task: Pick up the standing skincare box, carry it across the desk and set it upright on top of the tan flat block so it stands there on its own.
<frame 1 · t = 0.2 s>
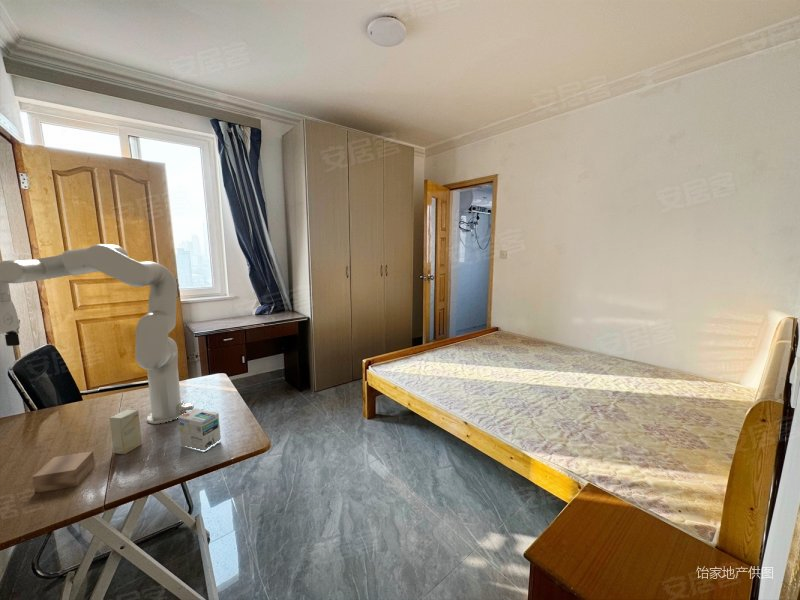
hand: (2, 349, 111), 31 cm above the table, tool pointing down, fingers open, 9 cm apart
light bulb box: (201, 445, 111), on the table
tan flat block: (66, 479, 94), on the table
skincare box: (128, 449, 109), on the table
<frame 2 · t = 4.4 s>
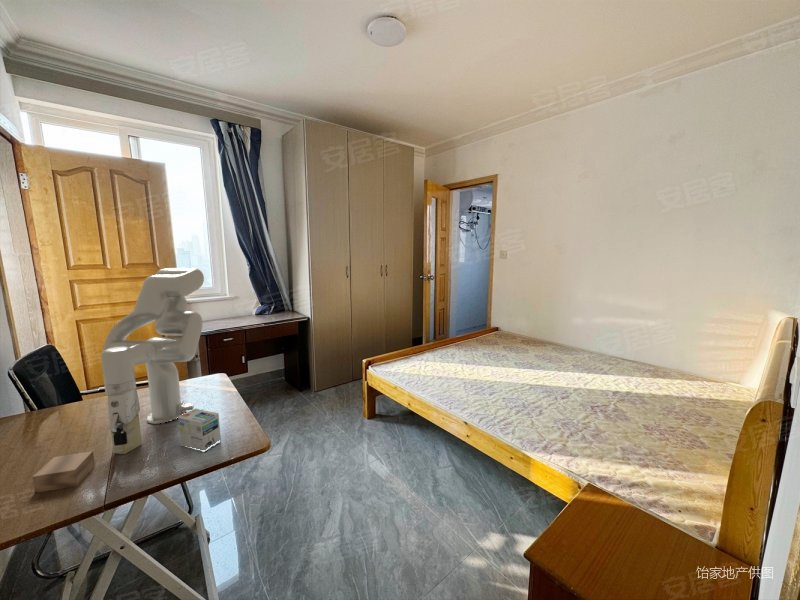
hand: (126, 437, 108), 4 cm above the table, tool pointing down, fingers closed on skincare box, 7 cm apart
skincare box: (128, 449, 109), on the table, touching gripper
everything else where it was.
when the fingers open (10 cm above the table, at t = 12.1 s): skincare box drops 1 cm, point 4 cm above the table.
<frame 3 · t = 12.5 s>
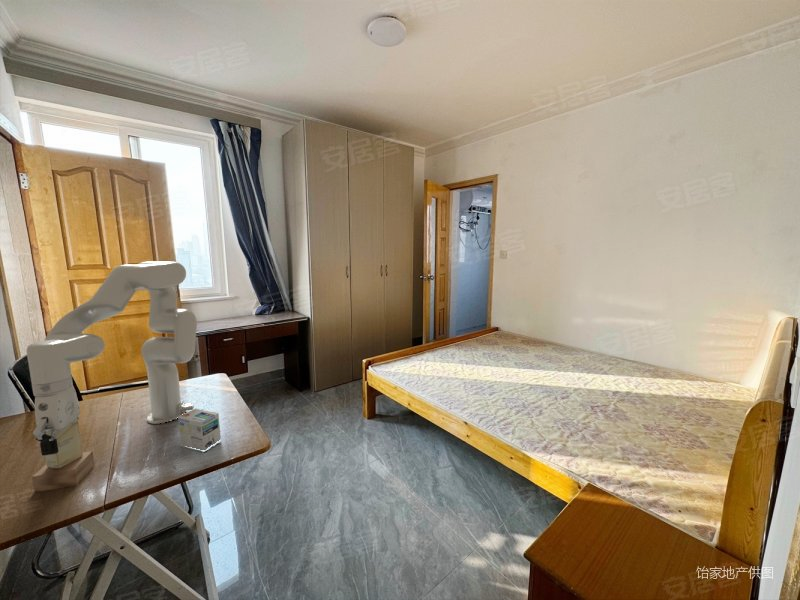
hand: (62, 444, 93), 10 cm above the table, tool pointing down, fingers open, 9 cm apart
skincare box: (65, 461, 95), point 4 cm above the table, touching gripper
everything else where it was.
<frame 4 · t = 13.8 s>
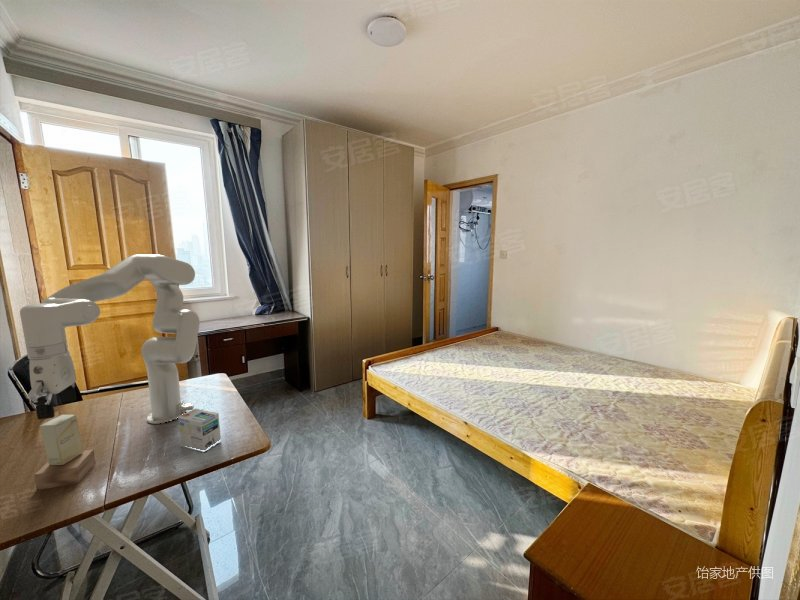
hand: (58, 409, 92), 21 cm above the table, tool pointing down, fingers open, 9 cm apart
tan flat block: (68, 477, 95), on the table, touching skincare box
skincare box: (67, 458, 96), point 5 cm above the table, touching tan flat block
everything else where it was.
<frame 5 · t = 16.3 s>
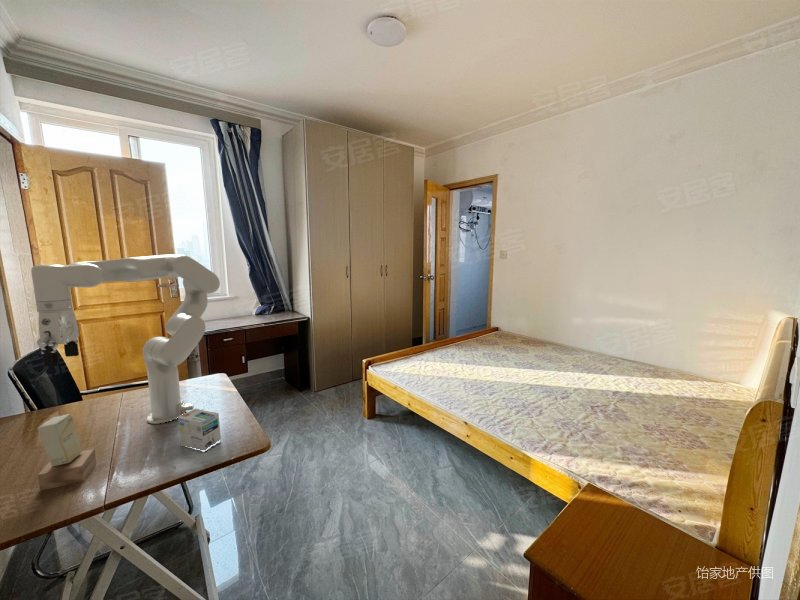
hand: (62, 360, 102), 30 cm above the table, tool pointing down, fingers open, 9 cm apart
at the end: skincare box 0.7 cm off-centre on the tan flat block, point 5.1 cm above the tan flat block's base; skincare box tilted 5°; skincare box touching nothing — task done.
